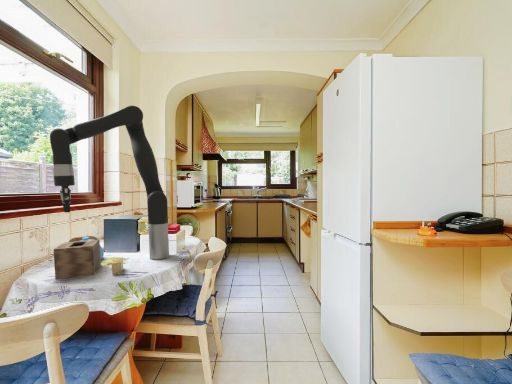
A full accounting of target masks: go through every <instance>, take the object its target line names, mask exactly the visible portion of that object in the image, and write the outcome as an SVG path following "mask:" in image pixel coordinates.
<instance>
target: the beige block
mask: <svg viewBox="0 0 512 384" xmlns="http://www.w3.org/2000/svg"><path fill="white" fill-rule="evenodd" d="M123 270H124V257H119V258H113V259H112V262H111V275H112V274H115V275H122V274H123ZM121 273H122V274H121Z"/></svg>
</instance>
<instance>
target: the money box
mask: <svg viewBox="0 0 512 384" xmlns="http://www.w3.org/2000/svg"><path fill="white" fill-rule="evenodd" d="M100 245H101V243H100V239H98V240H86V241H74V242H69V241H64V242H63V243H61V244H60V245H58V246H56V247H55V248H54V249H53V260H54V261H53V263H54V279H65V278H74V277H83V276H90V275H92V276H93V275H95V274H96V273H97V271H98V270H99V268H100V267H101V260H100Z"/></svg>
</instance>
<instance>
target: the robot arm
mask: <svg viewBox="0 0 512 384" xmlns="http://www.w3.org/2000/svg"><path fill="white" fill-rule="evenodd" d="M143 119H144V112H143V111H142V109H141V108H140V107H139V106H136V105H128V106H126V107H123V108H122V109H119V110H117V111H114V112H112V113H110V114H107V115H104V116H100V117H97V118H95V119H91V120H90V119H89V120H86V121H83V122H79V123H77V124H74V125H73V126H72V127H68V128H65V129H63V128H59V127H57V128H56V127H55V128H53V129H52V130H51V131H50V133H49V142H50V146H51V150H52V163H53V165H52V167H53V169H52V172H53V183H54V184H53V185H54V186H55V187H61V188H60V190H59V194H60V200H61V202H62V208H63V211H64V213H70V212H71V198H72V196H71V195H72V190H71V189H70V188H69V186H75V184H76V183H75V171H74V170H75V169H74V166H73V157H72V153H71V148H70V147H71V145H72V144H75V143H77V142H80V141H83V140H86V139H90V138H92V137H96V136H99V135H102V134H103V133H107V132H108V131H110V130H113V129H115V128H119V127H122V126H125V129H126V131H127V133H128V136H129V139H130V144H131V150H132V154H133V158H134V160H135V161H134V162H135V165H136V167H137V170H138V173H139V175H140V178H141V179H142V182H143V184H144V189H145V192H146V199H147V200H146V203H147V223H148V224H147V225H148V248H149V250H148V251H149V259H150V260H161V259H162V260H163V259H167V258H168V259H169V258H170V245H169V244H170V242H169V240H170V239H169V223H168V222H169V218H168V217H169V215H168V213H169V211H168V210H169V209H168V206H169V205H168V198H167V195H165V192H164V190H163V188H162V185H161V182H160V178H159V172H158V165H157V161H156V158H155V154H154V152H153V149H152V147H151V145H150V142H149V141H148V138H147V136H146V133H145V128H144V124H143V123H144V122H143Z"/></svg>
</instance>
